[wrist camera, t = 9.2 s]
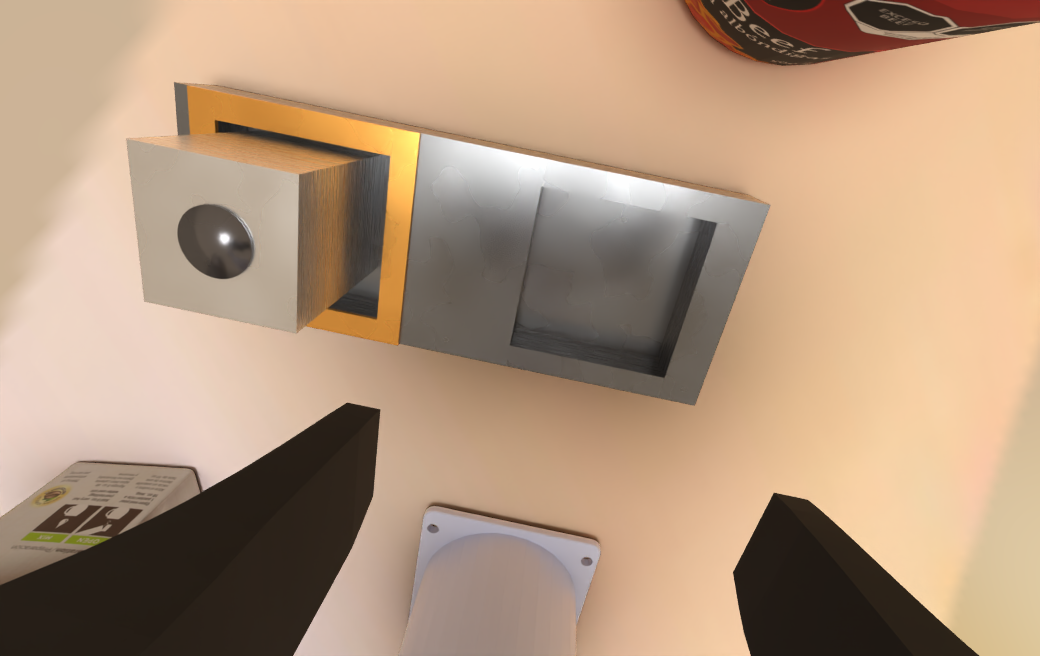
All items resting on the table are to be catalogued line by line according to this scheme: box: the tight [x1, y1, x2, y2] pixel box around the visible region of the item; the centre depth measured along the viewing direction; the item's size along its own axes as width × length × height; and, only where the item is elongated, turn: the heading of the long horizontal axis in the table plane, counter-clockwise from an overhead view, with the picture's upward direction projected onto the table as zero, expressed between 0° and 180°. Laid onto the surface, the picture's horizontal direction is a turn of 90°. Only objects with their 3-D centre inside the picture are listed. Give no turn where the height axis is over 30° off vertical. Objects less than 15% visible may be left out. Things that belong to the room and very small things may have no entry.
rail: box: [174, 82, 770, 406], centre depth 17 cm, size 7×18×2 cm, turn 79°
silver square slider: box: [126, 130, 386, 333], centre depth 15 cm, size 4×4×6 cm
